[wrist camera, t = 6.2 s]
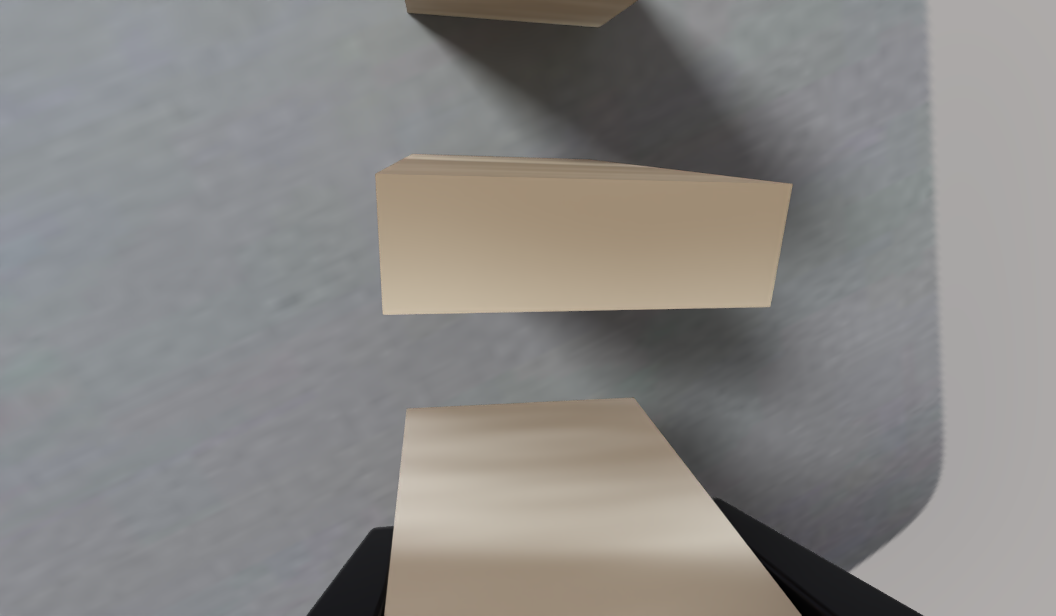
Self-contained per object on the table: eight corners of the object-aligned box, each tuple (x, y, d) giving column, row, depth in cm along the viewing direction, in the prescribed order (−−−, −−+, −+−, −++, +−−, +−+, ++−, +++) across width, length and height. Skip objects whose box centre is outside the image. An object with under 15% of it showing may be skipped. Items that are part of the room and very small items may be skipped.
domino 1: (586, 215, 15) (770, 307, 7) (414, 213, 14) (382, 314, 6) (590, 159, 15) (792, 183, 6) (412, 153, 14) (375, 173, 6)
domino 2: (627, 458, 12) (1062, 1181, 4) (409, 474, 11) (331, 1457, 3) (633, 397, 12) (1148, 1067, 3) (406, 408, 11) (304, 1356, 2)
